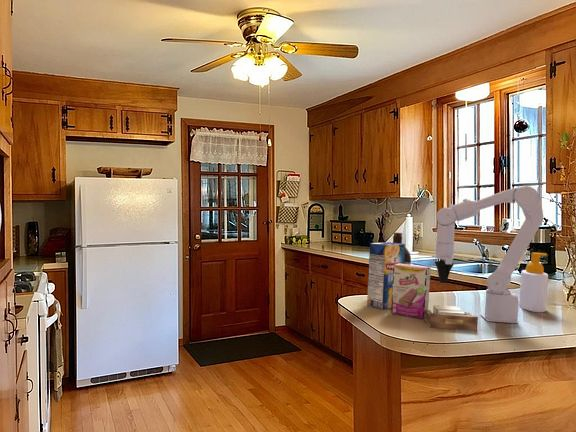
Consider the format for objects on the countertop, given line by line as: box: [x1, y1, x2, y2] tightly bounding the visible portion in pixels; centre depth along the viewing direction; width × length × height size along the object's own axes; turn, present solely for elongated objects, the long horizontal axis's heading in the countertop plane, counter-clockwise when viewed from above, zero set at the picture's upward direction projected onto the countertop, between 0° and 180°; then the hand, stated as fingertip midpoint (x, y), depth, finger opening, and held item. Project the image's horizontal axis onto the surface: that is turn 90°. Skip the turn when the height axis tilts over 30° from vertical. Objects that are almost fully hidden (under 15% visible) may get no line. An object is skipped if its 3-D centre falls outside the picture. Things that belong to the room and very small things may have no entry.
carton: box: [432, 304, 465, 315], centre depth 147 cm, size 8×9×4 cm
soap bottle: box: [518, 252, 549, 313], centre depth 172 cm, size 13×8×20 cm, turn 168°
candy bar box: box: [390, 263, 432, 320], centre depth 155 cm, size 11×5×16 cm, turn 59°
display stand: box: [424, 309, 479, 332], centre depth 145 cm, size 14×10×4 cm
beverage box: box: [366, 241, 406, 310], centre depth 168 cm, size 7×11×22 cm, turn 130°
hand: (442, 282), depth 162 cm, fingers closed
